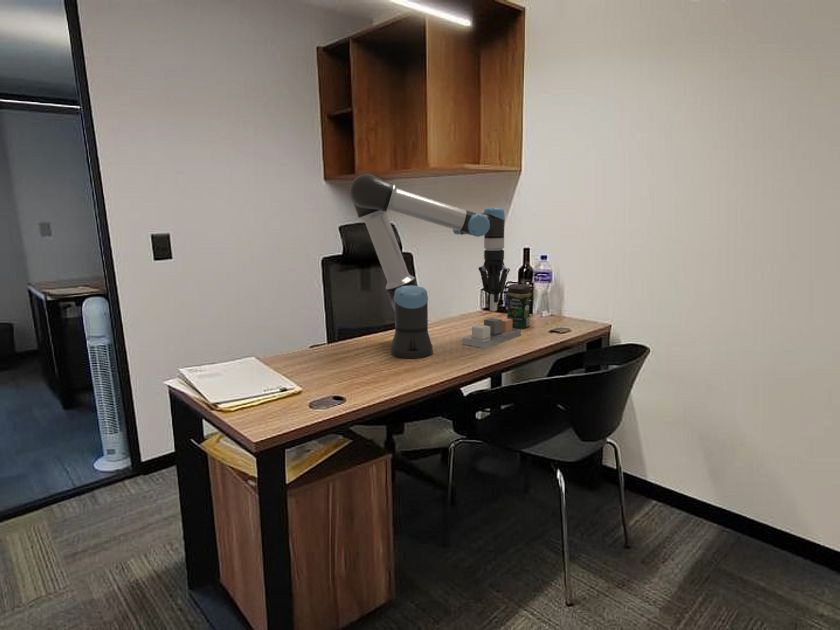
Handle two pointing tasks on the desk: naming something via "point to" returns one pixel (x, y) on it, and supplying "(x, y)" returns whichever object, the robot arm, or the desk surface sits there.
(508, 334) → the panel
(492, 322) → the block
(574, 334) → the desk surface
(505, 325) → the key terracotta
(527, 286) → the coffee jar
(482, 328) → the key ivory
